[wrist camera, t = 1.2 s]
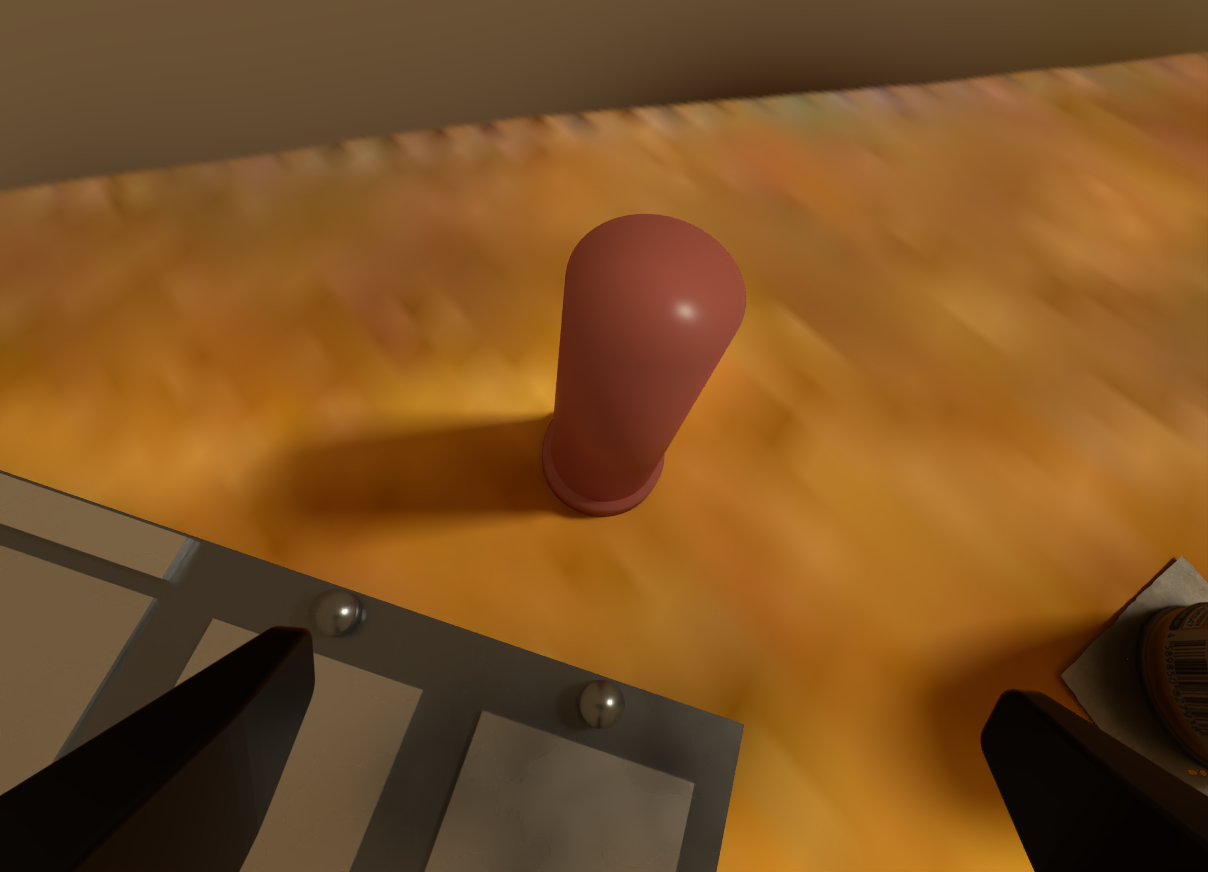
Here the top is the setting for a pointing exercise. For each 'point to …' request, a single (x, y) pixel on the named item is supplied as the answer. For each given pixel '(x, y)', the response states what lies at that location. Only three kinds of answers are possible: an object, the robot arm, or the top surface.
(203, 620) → the board
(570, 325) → the red joystick handle
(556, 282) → the top surface
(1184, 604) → the condiment
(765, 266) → the top surface
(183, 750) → the robot arm
